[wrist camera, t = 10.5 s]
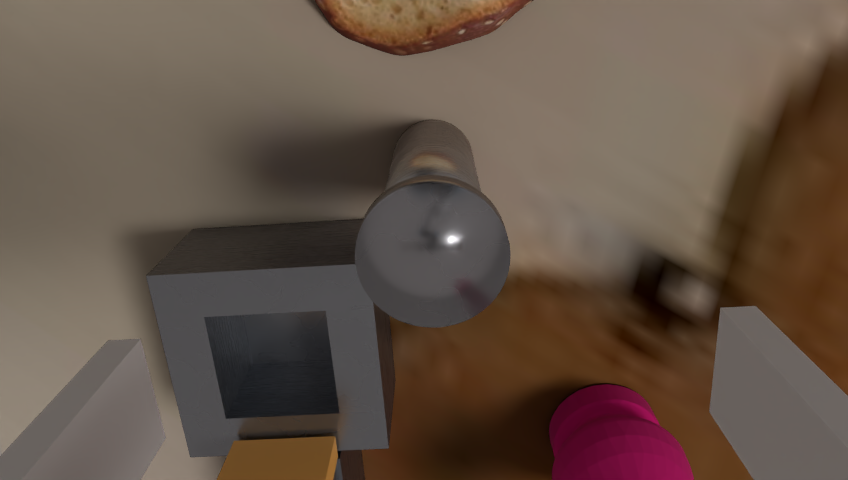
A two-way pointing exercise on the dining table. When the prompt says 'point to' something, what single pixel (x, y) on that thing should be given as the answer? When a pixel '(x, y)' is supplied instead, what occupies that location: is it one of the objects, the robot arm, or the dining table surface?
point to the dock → (275, 339)
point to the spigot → (432, 233)
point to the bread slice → (416, 21)
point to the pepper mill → (613, 439)
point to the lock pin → (281, 459)
